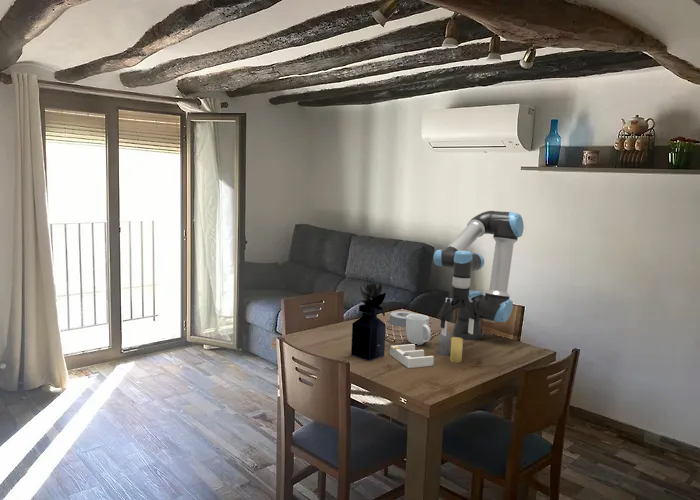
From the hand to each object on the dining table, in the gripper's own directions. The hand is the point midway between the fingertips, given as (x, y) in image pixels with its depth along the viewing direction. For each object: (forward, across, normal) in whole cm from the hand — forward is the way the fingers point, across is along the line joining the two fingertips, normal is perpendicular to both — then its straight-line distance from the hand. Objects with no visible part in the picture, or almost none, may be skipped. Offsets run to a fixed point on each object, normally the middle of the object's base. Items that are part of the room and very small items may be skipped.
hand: (457, 334), depth 239 cm
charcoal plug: (+12, 0, -10) cm, 16 cm away
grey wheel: (+12, -6, -61) cm, 63 cm away
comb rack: (+12, +20, -6) cm, 24 cm away
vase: (+13, +34, -16) cm, 40 cm away
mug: (+12, +4, -26) cm, 29 cm away
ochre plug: (+12, 0, 0) cm, 12 cm away
